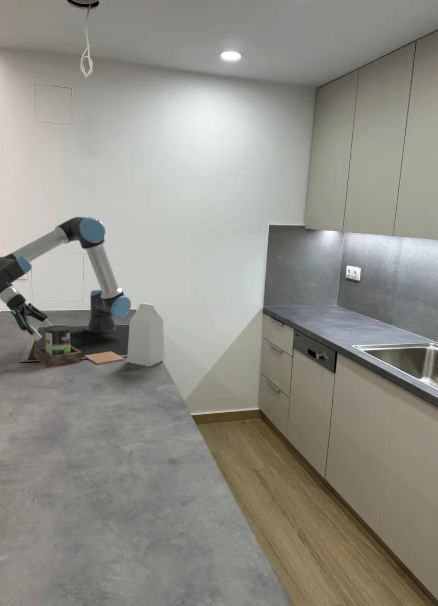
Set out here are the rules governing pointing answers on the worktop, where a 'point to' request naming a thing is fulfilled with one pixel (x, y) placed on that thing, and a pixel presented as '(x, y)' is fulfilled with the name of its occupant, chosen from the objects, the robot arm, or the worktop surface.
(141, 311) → the milk
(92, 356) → the tile
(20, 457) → the worktop surface
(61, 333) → the coffee can
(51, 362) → the tray
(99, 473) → the worktop surface
